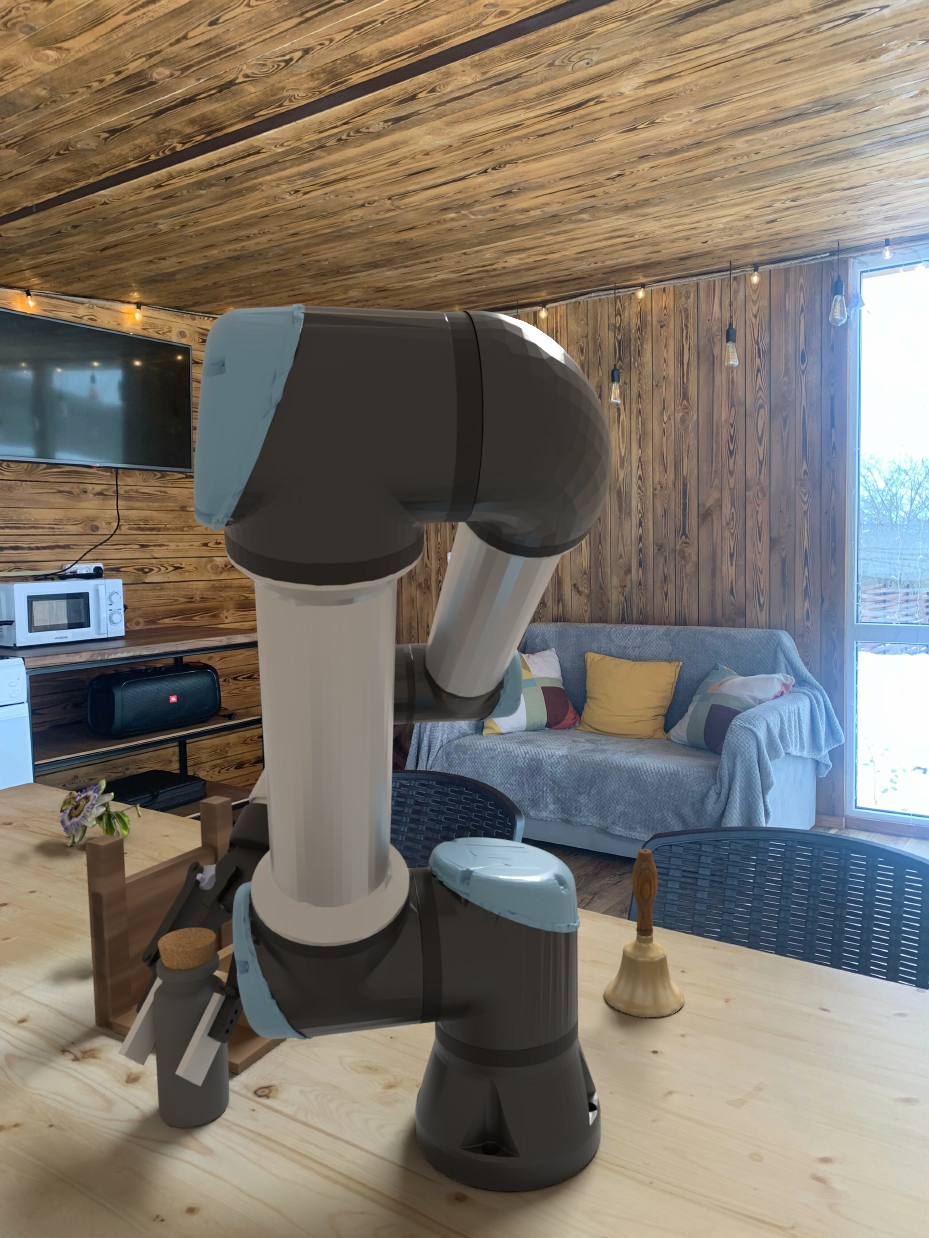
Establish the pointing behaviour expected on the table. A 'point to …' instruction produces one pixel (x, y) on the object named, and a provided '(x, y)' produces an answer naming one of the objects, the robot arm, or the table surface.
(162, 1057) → the bottle
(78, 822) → the passion flower
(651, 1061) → the table surface
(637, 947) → the hand bell
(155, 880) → the wooden holder stand
